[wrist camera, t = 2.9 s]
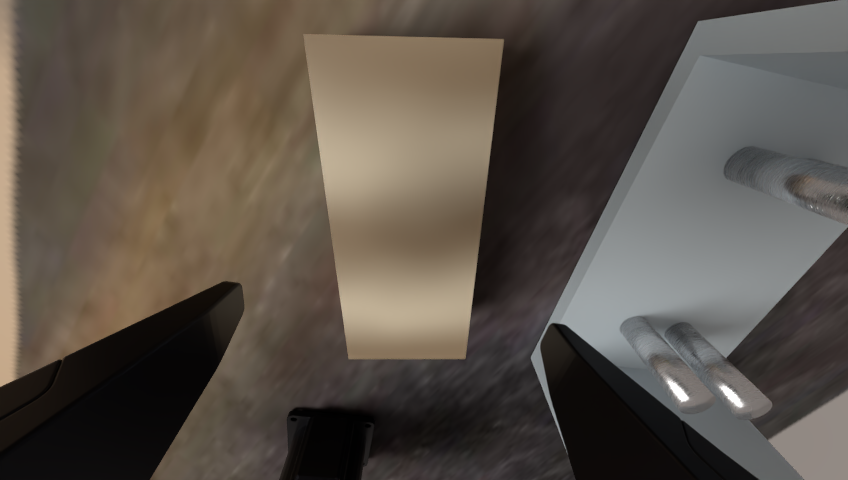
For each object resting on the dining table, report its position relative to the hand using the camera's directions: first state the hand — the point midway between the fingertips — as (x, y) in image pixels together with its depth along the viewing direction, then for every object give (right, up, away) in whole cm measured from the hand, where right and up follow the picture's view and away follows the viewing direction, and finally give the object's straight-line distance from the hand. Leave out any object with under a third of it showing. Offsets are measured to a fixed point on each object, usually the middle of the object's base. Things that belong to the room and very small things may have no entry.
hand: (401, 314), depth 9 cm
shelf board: (0, +4, +7) cm, 8 cm away
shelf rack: (+16, +2, +9) cm, 18 cm away
